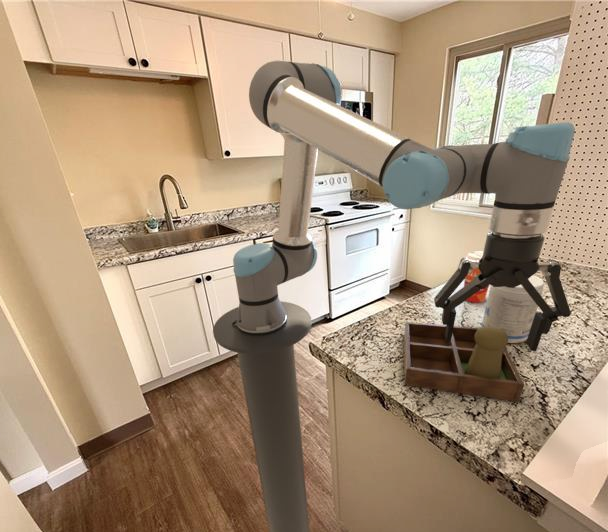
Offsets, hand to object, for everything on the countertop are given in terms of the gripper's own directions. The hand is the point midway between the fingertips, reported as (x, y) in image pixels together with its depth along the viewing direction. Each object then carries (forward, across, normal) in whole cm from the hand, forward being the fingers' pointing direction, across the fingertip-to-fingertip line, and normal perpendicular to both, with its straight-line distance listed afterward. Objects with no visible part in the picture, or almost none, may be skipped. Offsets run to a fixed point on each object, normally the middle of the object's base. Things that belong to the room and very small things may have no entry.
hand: (487, 342), depth 59 cm
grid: (+9, -4, +4) cm, 11 cm away
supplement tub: (+9, +9, +19) cm, 23 cm away
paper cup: (+9, +6, +39) cm, 41 cm away
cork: (+8, 0, 0) cm, 8 cm away
